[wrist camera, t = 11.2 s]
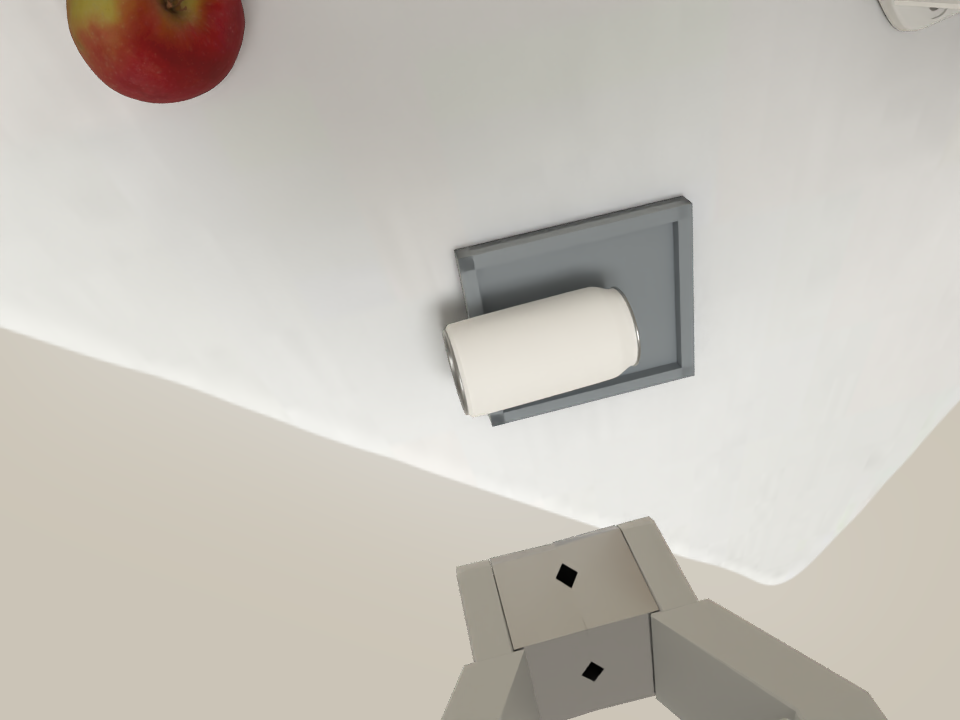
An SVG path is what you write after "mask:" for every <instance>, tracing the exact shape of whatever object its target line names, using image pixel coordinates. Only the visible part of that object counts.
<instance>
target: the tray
mask: <svg viewBox="0 0 960 720" xmlns="http://www.w3.org/2000/svg"><path fill="white" fill-rule="evenodd" d="M454 252H455V257H456V261H457V266H458V271H459V276H460V281H461V285H462V290H463V295H464V300H465V304H466V309H467V314H468V319H469V318H473V317H476V316H480V315H484V314H488V313H491V312H495V311H499V310H502V309H506V308H510V307H514V306H517V305H521V304H525V303H529V302H532V301H536V300H540V299H544V298H547V297H551V296H555V295H559V294H563V293H566V292H570V291H574V290H578V289H582V288H587V287H599V288H604V289H610V288H611V287H614V286H615V287H618V288H619V289H620V290H621V291H622V292H623V293H624V295H625V296H626V298H627V300H628V302H629V304H630V306H631V308H632V311H633V313H634V316H635V319H636V323H637V327H638V331H639V336H640V344H641V355H640V361H639V363H638V364H637V365H636V366H630V367H628V368H627V369H626V370H625V371H624V372H622V373H621V374H620V375H619V376H617V377H615V378H613V379H610V380H607V381H603V382H600V383H596V384H593V385H589V386H586V387H582V388H579V389H575V390H572V391H568V392H565V393H561V394H558V395H554V396H551V397H547V398H543V399H540V400H536V401H533V402H529V403H526V404H522V405H518V406H515V407H511V408H508V409H504V410H500V411H497V412H493V413H489V418H490V421H491V424H492V427H493V426H497V425H501V424H505V423H509V422H513V421H517V420H521V419H525V418H529V417H533V416H536V415H540V414H544V413H548V412H552V411H556V410H560V409H564V408H568V407H572V406H576V405H580V404H584V403H588V402H592V401H596V400H599V399H603V398H607V397H611V396H615V395H619V394H623V393H627V392H631V391H635V390H639V389H643V388H647V387H651V386H655V385H658V384H662V383H666V382H670V381H674V380H678V379H682V378H686V377H690V376H694V296H693V217H692V203H691V202H690V201H689V200H687V199H686V198H685V197H684V196H681V197H677V198H672V199H668V200H664V201H660V202H656V203H651V204H647V205H643V206H639V207H635V208H630V209H626V210H622V211H618V212H614V213H609V214H605V215H601V216H597V217H593V218H588V219H584V220H580V221H576V222H572V223H567V224H563V225H559V226H555V227H551V228H546V229H542V230H538V231H534V232H529V233H525V234H521V235H517V236H513V237H508V238H504V239H500V240H496V241H492V242H487V243H483V244H479V245H475V246H471V247H466V248H462V249H458V250H454Z"/></svg>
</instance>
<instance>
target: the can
mask: <svg viewBox="0 0 960 720" xmlns="http://www.w3.org/2000/svg"><path fill="white" fill-rule="evenodd" d="M443 338H444V343H445V348H446V352H447V356H448V360H449V364H450V368H451V372H452V375H453V379H454V382H455V386H456V389H457V392H458V396H459V399H460V402H461V405H462V408H463V410H464V413H465V414H466V415H470V416H471V417H473V418H474V417H478V416H482V415H486V414H489V413H493V412H497V411H500V410H504V409H508V408H511V407H515V406H518V405H522V404H526V403H529V402H533V401H536V400H540V399H543V398H547V397H551V396H554V395H558V394H561V393H565V392H568V391H572V390H575V389H579V388H582V387H586V386H589V385H593V384H596V383H600V382H603V381H607V380H610V379H613V378H615V377H617V376H619V375H620V374H621V373H622V372H624V371H625V370H626V369H627V368H628V367H630V366H636V365H637V364H638V363H639V361H640V355H641V344H640V336H639V331H638V327H637V323H636V319H635V316H634V313H633V311H632V308H631V306H630V304H629V302H628V300H627V298H626V296H625V295H624V293H623V292H622V291H621V290H620V289H619V288H618V287H615V286H614V287H611V288H610V289H604V288H599V287H587V288H582V289H578V290H574V291H570V292H566V293H563V294H559V295H555V296H551V297H547V298H544V299H540V300H536V301H532V302H529V303H525V304H521V305H517V306H514V307H510V308H506V309H502V310H499V311H495V312H491V313H488V314H484V315H480V316H476V317H473V318H469V319H465V320H462V321H458V322H455V323H451V324H448V325H447V327H446V329H445V330H443Z"/></svg>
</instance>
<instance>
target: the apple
mask: <svg viewBox="0 0 960 720" xmlns="http://www.w3.org/2000/svg"><path fill="white" fill-rule="evenodd" d="M66 8H67V19H68V25H69V30H70V33H71V36H72V38H73V41H74V43H75V45H76V47H77V49H78V51H79V53H80V54H81V56H82V57H83V59H84V60H85V62H86V63H87V64H88V66H89V67H90V68H91V70H92V71H93V72H94V73H95V74H96V75H97V76H98V78H99V79H101V80H102V81H103V82H104V83H105V84H106V85H107V86H108V87H110V88H111V89H113V90H115V91H116V92H118V93H120V94H122V95H124V96H127V97H130V98H133V99H137V100H140V101H145V102H150V103H174V102H180V101H185V100H188V99H192V98H194V97H197V96H199V95H201V94H203V93H206V92H208V91H209V90H211V89H212V88H214V87H215V86H217V85H218V84H219V83H220V82H221V81H222V80H223V79H224V78H225V77H226V76H227V74H228V73H229V72H230V70H231V69H232V67H233V65H234V63H235V61H236V58H237V56H238V53H239V51H240V48H241V45H242V40H243V35H244V28H245V18H244V11H243V7H242V3H241V0H66Z"/></svg>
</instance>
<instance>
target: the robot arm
mask: <svg viewBox="0 0 960 720" xmlns="http://www.w3.org/2000/svg"><path fill="white" fill-rule="evenodd" d="M879 2H880V5H881V7H882V9H883V11H884V13H885V15H886V16H887V18H888V20H889V21H890V23H891V24H892V25H893V27H895V28H896V29H897V30H900V31H918V30H921V29H923V28H926V27H928V26H930V25H932V24H935V23H937V22H939V21H941V20H944V19H946V18H948V17H951V16H953V15H955V14H957V13H960V0H879ZM929 7H930V8H929ZM490 562H491V564H490ZM491 567H492V568H491ZM456 573H457V581H458V586H459V591H460V595H461V600H462V605H463V611H464V615H465V620H466V625H467V630H468V635H469V640H470V645H471V650H472V655H473V660H474V663H470V664H468V665H464V667H463V670H462V672H461V674H460V676H459V679H458V681H457V683H456V686H455V688H454V690H453V693H452V695H451V697H450V700H449V702H448V704H447V707H446V709H445V711H444V714H443V716H442V719H441V720H567V719H570V718H573V717H577V716H580V715H583V714H586V713H589V712H593V711H596V710H599V709H603V708H607V707H611V706H615V705H619V704H623V703H627V702H631V701H635V700H639V699H643V698H646V697H651V696H655V695H656V699H657V700H659V701H660V702H661V703H662V704H663V705H664V706H666V707H667V708H668V709H669V710H670V711H671V712H673V713H674V714H675V715H676V716H677V717H679V718H680V719H681V720H887V718H886V717H885V715H884V714H883V713H882V711H881V710H880V708H879V707H878V706H877V704H876V703H875V701H874V700H873V698H872V697H871V696H870V694H869V693H868V692H867V691H865V690H864V689H862V688H860V687H858V686H857V685H855V684H853V683H852V682H850V681H848V680H847V679H845V678H843V677H842V676H840V675H838V674H836V673H835V672H833V671H831V670H830V669H828V668H826V667H825V666H823V665H821V664H819V663H818V662H816V661H814V660H813V659H810V658H809V657H807V656H806V655H804V654H802V653H801V652H799V651H797V650H796V649H794V648H792V647H790V646H788V645H787V644H785V643H784V642H782V641H780V640H779V639H777V638H775V637H773V636H772V635H770V634H768V633H766V632H765V631H763V630H761V629H760V628H758V627H756V626H755V625H753V624H751V623H750V622H748V621H746V620H744V619H742V618H741V617H739V616H738V615H736V614H734V613H732V612H731V611H729V610H727V609H726V608H724V607H722V606H721V605H719V604H717V603H715V602H714V601H712V600H710V599H709V598H708V599H704V600H700V601H698V599H697V597H696V595H695V594H694V592H693V590H692V588H691V586H690V585H689V583H688V581H687V579H686V577H685V576H684V574H683V572H682V570H681V568H680V567H679V565H678V563H677V561H676V559H675V557H674V556H673V554H672V552H671V550H670V548H669V547H668V545H667V543H666V541H665V539H664V538H663V536H662V534H661V532H660V530H659V529H658V527H657V525H656V523H655V522H654V520H653V519H651V518H650V517H649V516H648V517H644V518H640V519H636V520H633V521H629V522H625V523H622V524H618V525H617V526H615V525H613V526H609V527H606V528H602V529H599V530H595V531H591V532H588V533H584V534H581V535H577V536H573V537H570V538H566V539H563V540H559V541H556V542H553V543H552V544H548V545H543V546H539V547H535V548H531V549H526V550H522V551H518V552H514V553H510V554H506V555H501V556H497V557H493V558H490V561H489V559H486V560H482V561H479V562H474V563H470V564H466V565H462V566H458V567H456Z"/></svg>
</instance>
